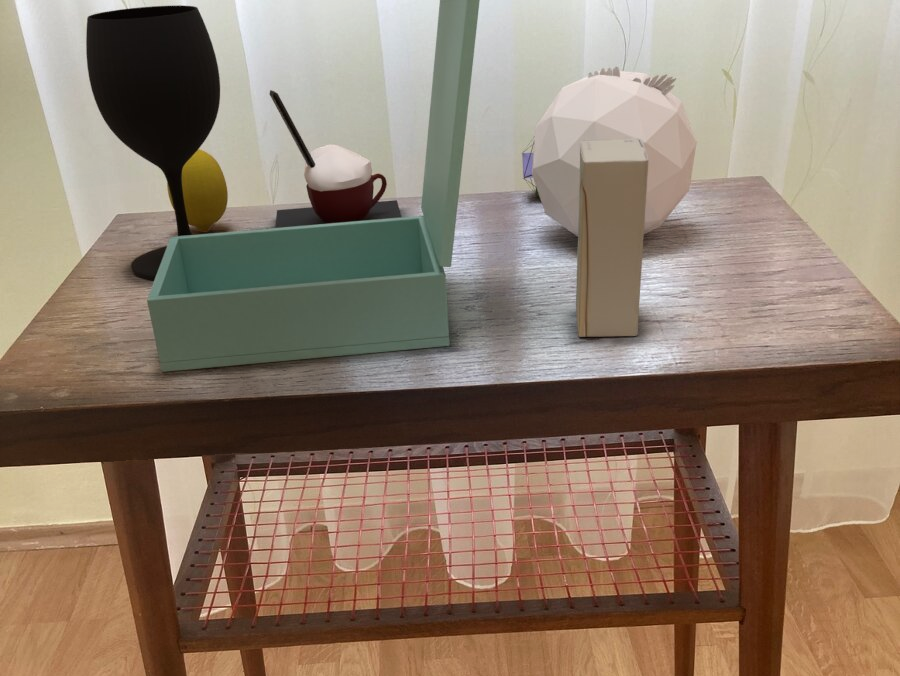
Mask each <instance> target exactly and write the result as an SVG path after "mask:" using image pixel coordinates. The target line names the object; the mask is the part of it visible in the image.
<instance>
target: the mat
mask: <svg viewBox="0 0 900 676" xmlns="http://www.w3.org/2000/svg"><path fill="white" fill-rule="evenodd" d="M275 216H276V217H275V227H274V228H282V227H294V226H306V225H318V224H328V223H326V222H324V221H323V220H322V219H320V218H319V217H318V216H317V215H316V213H315V211H314V209H313V207H312V206H309V207H298V208H285V209H277V210H276V215H275ZM401 217H402V214H401V210H400V208H399V202H398V200H396V199H394V200H393V199H392V200H383V201H378V202H377V203H376V204H375V205H374V206H373V207H372V208H371V209H370V211H369V213H368V215H366V217H365V218H363V219H362V220H360V221H366V220H378V219H389V218H401Z"/></svg>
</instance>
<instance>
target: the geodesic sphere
mask: <svg viewBox="0 0 900 676" xmlns="http://www.w3.org/2000/svg"><path fill="white" fill-rule="evenodd" d="M667 76H668V74H667V73H665V74H664V75H661V76H660V78H659V75H655V76H653V77H651V76H650V75H649V74H647V73H646V72H639V71H637V72H636V71H626V70H625V71H624V70H620V68H619V67H618V66H615V67H614V68H613V69H612V68H611V67H608V68H607V69H605V68H604V67H603V68H601V69H600V70H598V71H597V70H595V71H594V72H593V73H592V72H588V74H587V76H585V77H582V78H580V79H578V80H576V81H573V82H571V83H569V84H567V85H565V86H563V87H561V88H560V90H559V91H558V93H557V95H556V96H555V98H554V99H553V100H552V102H551V103H550V105H549V107H548V108H547V109H546V111H545V112H544V114H543V115H542V117H541V118H540V120H539V121H538V122H537V124H536V125H535V127H534V136H535V137H534V138H533V143H534V145H533V152H532V153H533V166H532V176H533V178H532V179H533V182H534V186H536V187H535V189H536V188H537V191H538V193H539V200H540V202H541V205H542V207H543V211H544V214H545V215H547V217H549V218H551V219H552V220H554V221H555V222H557V224H559V225H561V226H562V227H563V228H564V229H566V230H568V231H569V232H570V233H572V234H574V235H575V236H576V237H578V226H579V189H580V141H581V140H613V139H638V138H640V139H641V141H642V143H643V145H644V147H645V150H646V153H647V156H648V176H647V192H646V207H645V222H644V235H645V234H647V233H650V232H652V231H654V230H656V229H658V228H660V227H661V226H662V225H663V223H664V222H665V221H666V220H667V218H668V217H669V216H670V215H671V214H672V212H673V211H674V210H675V208H676V207H677V206H678V205H679V203H680V202H681V201H682V200H683V199H684V197H685V196H686V195H687V194H688V192H690V188H691V181H692V174H693V169H694V162H695V156H696V150H697V149H696V148H697V143H698V141H697V139H696V137H695V135H694V131H693V128H692V125H691V122H690V121H689V118H688V116H687V113H686V110H685V107H684V105H683V102H682V100H681V99H679V98H678V97H677V96H675V95H674V94H673V93H672V92H671V91H672V90H673V88H675V84H673V83H675V82H676V80H677V78H673V76H670V77H667Z"/></svg>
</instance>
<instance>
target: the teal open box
mask: <svg viewBox="0 0 900 676" xmlns="http://www.w3.org/2000/svg"><path fill="white" fill-rule="evenodd" d="M166 246H167V248H166V251H165V253H164V256H163V259H162V261H161V264H160V267H159V269H158V272H157V275H156V277H155V280H153V283H152V285H151V288H150V291H149V293H148V296H147V299H146V304H147V307H148V308H147V309H148V312H149V316H150V322H151V326H152V331H153V336H154V341H155V345H156V349H157V354H158V360H159V363H160V369H161V372H162V373H165V372H177V371H188V370H189V371H190V370H198V369H199V370H200V369H208V368H209V369H210V368H220V367H231V366H232V367H233V366H242V365H243V366H244V365H254V364H264V363H265V364H266V363H276V362H286V361H288V362H289V361H298V360H310V359H321V358H332V357H341V356H353V355H363V354H365V355H366V354H374V353H375V354H376V353H386V352H396V351H407V350H408V351H409V350H420V349H430V348H431V349H432V348H441V347H449V346H451V344H450V343H451V342H450V328H449V327H450V325H449V314H448V313H449V309H448V293H447V275H446V272H445V267H441V266H440V265H439V262H438V259H437V256H436V253H435V250H434V246H433V243H432V240H431V237H430V234H429V231H428V228H427V225H426V222H425V219H424V215H416V216H415V215H414V216H401V218H389V219H378V220H366V221H354V222H342V223H330V224H318V225H306V226H294V227H282V228H275V227H273V228H260V229H259V228H258V229H249V230H248V229H247V230H237V231H236V230H235V231H226V232H224V231H223V232H213V233H202V234H201V233H199V234H192V235H187V236H178V235H176V236H170V239H169V241H168V243H167V245H166Z"/></svg>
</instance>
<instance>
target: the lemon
mask: <svg viewBox="0 0 900 676" xmlns="http://www.w3.org/2000/svg"><path fill="white" fill-rule="evenodd" d="M166 187H167V194H168V198H169V202H170V204H171V207H172V209H173V210H174V206H173V201H172V197H171V193H170V189H169V186H168V183H167V182H166ZM182 189H183V197H184V203H185V210H186V215H187V220H188V224H189V226H193V227H195V228H196V229H197V230H199V232H200V233H207V232H210V229H211V227H213V225H214V224H216V223H217V222H219V221H220V220H221V219H222V217H223V216H224V214H225V212H226V210H227V206H228V199H229V193H228V186H227V182H226V178H225V175H224V172H223V170H222V168H221V166H220V164H219V162H218V161H217V160H216V158H215V157H214V156H212V155H211V154H210V153H209V152H207V151H205V150H203V149H200V148H199V149H198V150H197V151H196V153H195V154H194V155H193V156H192V157H191V158H190V159H189V160H188V161H187V162H186V163H185V165H184V167H183V169H182Z"/></svg>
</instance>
